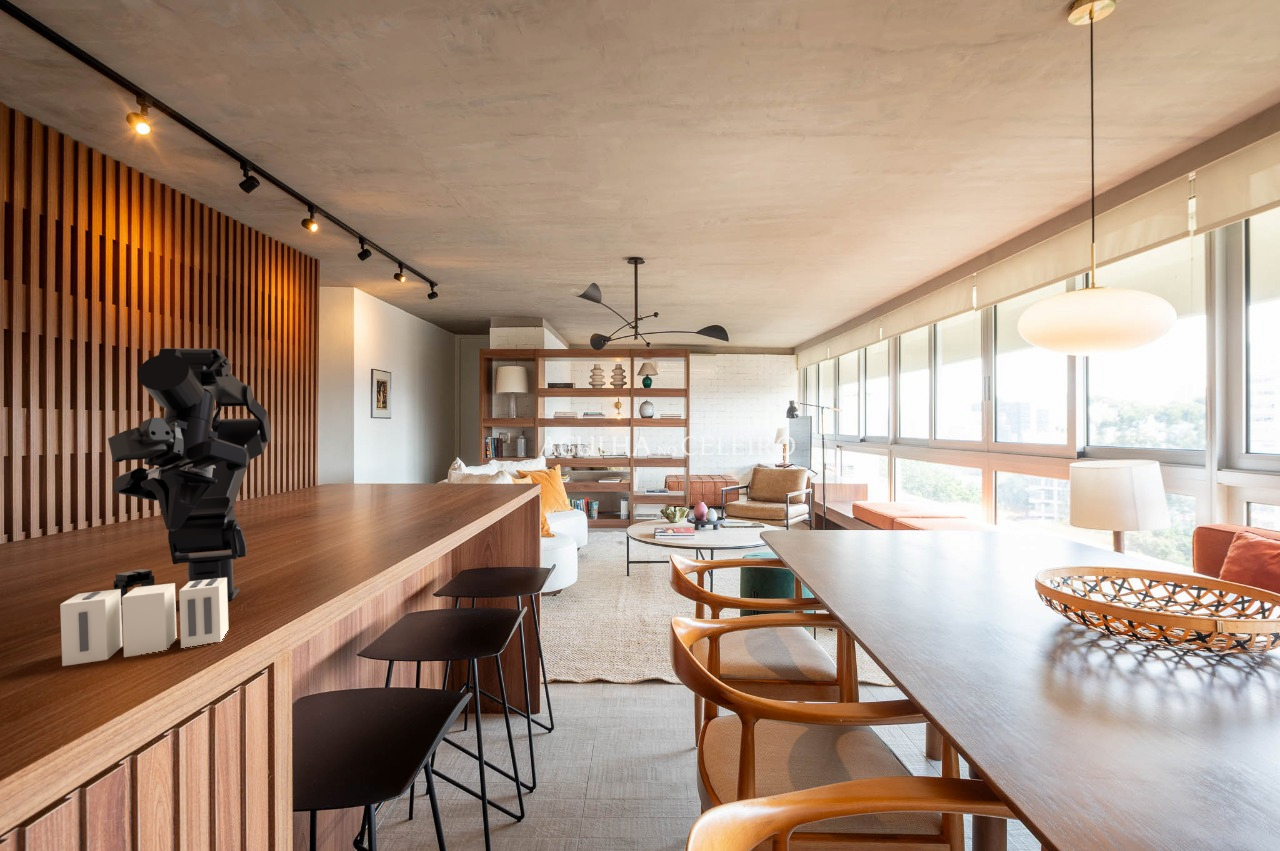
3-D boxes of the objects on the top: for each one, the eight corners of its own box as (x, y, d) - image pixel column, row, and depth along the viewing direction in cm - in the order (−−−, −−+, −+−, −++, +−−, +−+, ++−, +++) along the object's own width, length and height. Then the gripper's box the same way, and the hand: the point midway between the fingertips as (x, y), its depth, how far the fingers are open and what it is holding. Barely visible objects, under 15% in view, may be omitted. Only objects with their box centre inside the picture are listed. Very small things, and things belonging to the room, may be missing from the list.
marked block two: (191, 636, 79) (189, 580, 79) (228, 631, 81) (226, 576, 81) (180, 649, 74) (178, 589, 74) (220, 643, 76) (218, 585, 76)
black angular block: (103, 613, 92) (102, 582, 92) (73, 609, 95) (72, 579, 95) (189, 592, 104) (189, 564, 104) (161, 589, 106) (160, 562, 106)
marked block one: (80, 651, 74) (78, 592, 74) (122, 645, 76) (120, 587, 76) (61, 666, 70) (59, 603, 70) (106, 660, 71) (104, 598, 71)
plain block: (137, 643, 77) (135, 587, 77) (176, 638, 78) (174, 583, 78) (123, 657, 72) (122, 597, 72) (166, 651, 74) (164, 592, 74)
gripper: (80, 426, 85) (55, 537, 78) (175, 382, 80) (157, 497, 73) (165, 450, 95) (149, 550, 88) (255, 412, 89) (244, 516, 83)
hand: (172, 529), depth 83 cm, fingers closed
